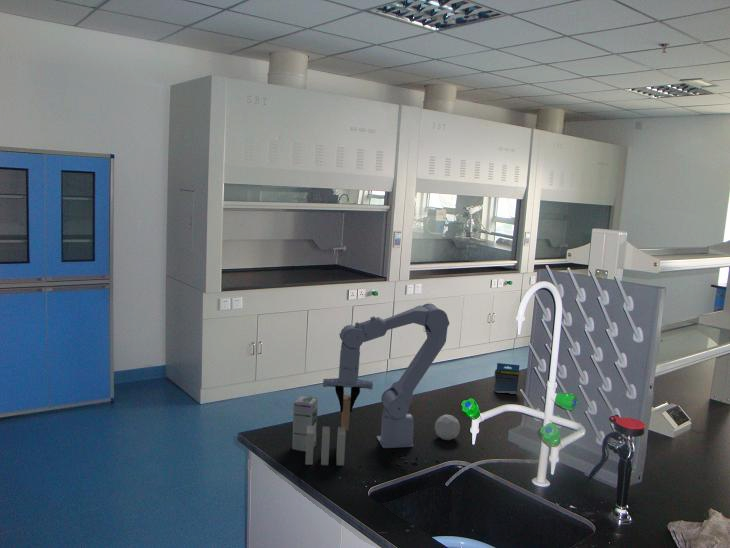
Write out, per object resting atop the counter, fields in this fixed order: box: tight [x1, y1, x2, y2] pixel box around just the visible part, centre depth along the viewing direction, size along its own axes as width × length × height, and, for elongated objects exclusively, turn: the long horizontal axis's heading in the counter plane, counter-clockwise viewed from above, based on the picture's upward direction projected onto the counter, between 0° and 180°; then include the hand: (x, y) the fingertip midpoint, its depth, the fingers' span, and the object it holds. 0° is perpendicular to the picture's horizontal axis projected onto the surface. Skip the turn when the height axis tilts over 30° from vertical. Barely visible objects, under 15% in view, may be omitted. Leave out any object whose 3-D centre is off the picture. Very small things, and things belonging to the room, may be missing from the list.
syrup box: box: [291, 395, 319, 452], centre depth 171 cm, size 6×6×14 cm
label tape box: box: [492, 362, 520, 393], centre depth 230 cm, size 9×4×12 cm, turn 85°
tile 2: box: [335, 426, 346, 466], centre depth 164 cm, size 2×5×9 cm, turn 4°
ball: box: [434, 413, 461, 441], centre depth 183 cm, size 8×8×8 cm
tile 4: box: [304, 426, 315, 466], centre depth 163 cm, size 2×5×9 cm, turn 4°
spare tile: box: [340, 394, 351, 431], centre depth 174 cm, size 2×5×9 cm, turn 4°
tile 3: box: [320, 425, 331, 466], centre depth 163 cm, size 2×5×9 cm, turn 4°
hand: (345, 410), depth 174 cm, fingers closed on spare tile, 2 cm apart
